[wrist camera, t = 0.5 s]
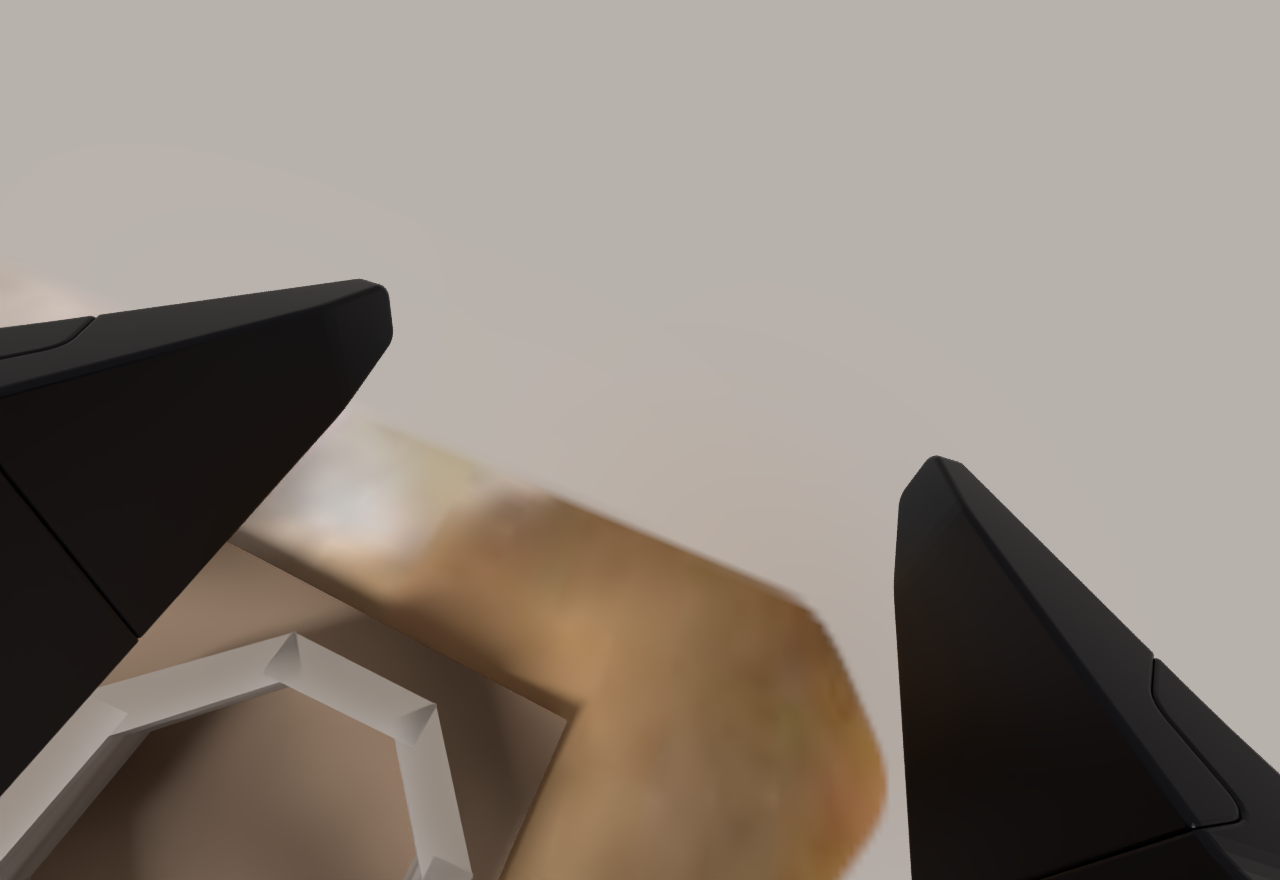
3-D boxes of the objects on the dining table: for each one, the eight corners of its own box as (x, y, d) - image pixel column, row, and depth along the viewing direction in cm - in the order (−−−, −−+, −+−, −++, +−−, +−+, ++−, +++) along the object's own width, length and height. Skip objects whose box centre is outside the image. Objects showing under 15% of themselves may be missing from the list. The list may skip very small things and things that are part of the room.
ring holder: (300, 1305, 13) (275, 1499, 10) (-322, 1106, 11) (-607, 1270, 8) (560, 719, 21) (594, 722, 18) (213, 538, 19) (179, 502, 16)
